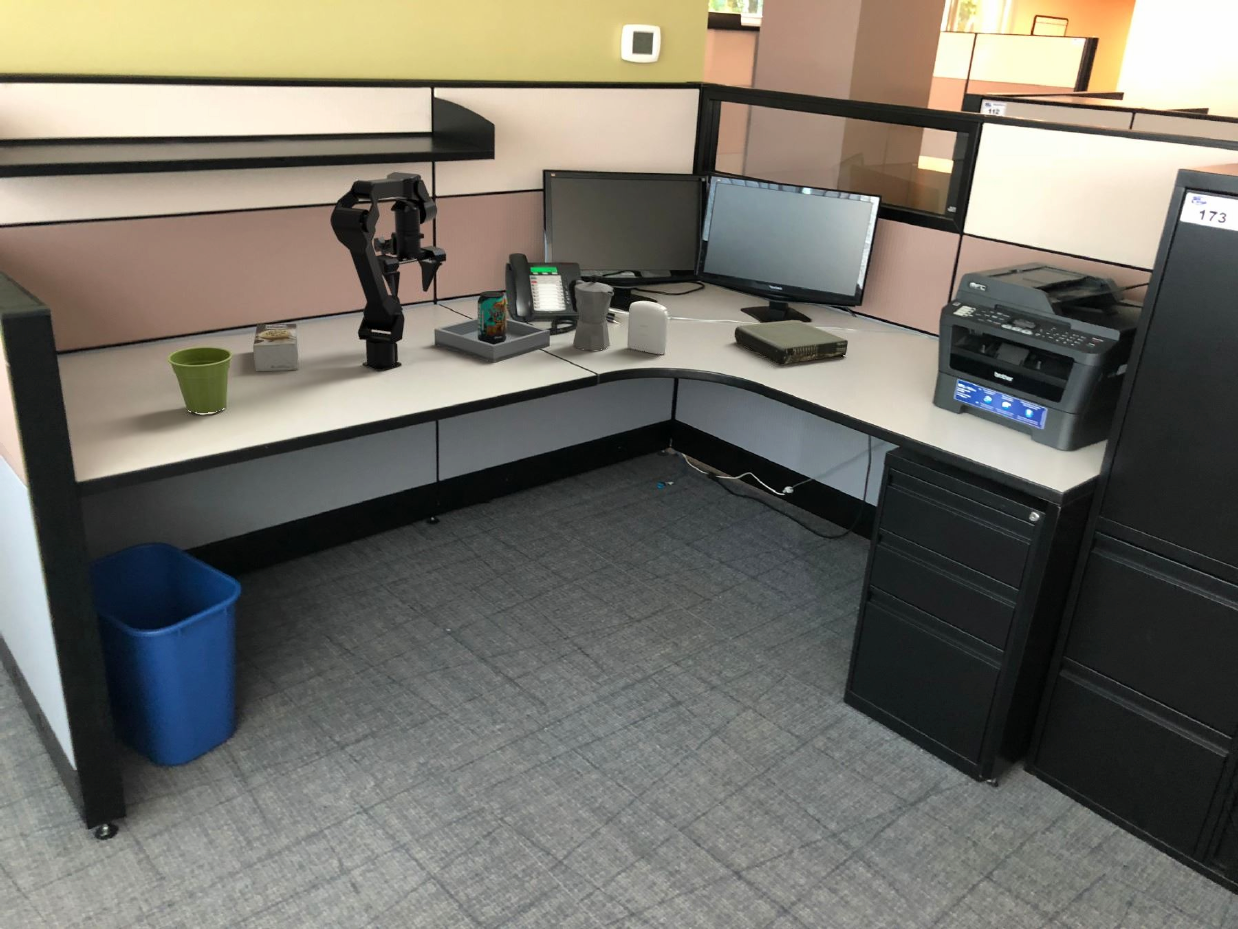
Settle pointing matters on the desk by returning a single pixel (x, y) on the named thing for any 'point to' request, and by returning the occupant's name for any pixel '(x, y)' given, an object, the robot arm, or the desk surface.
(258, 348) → the coffee box
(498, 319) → the beverage can
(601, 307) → the coffeepot
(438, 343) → the bin
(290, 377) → the desk surface
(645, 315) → the photo printer
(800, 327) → the network switch
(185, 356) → the plant pot
